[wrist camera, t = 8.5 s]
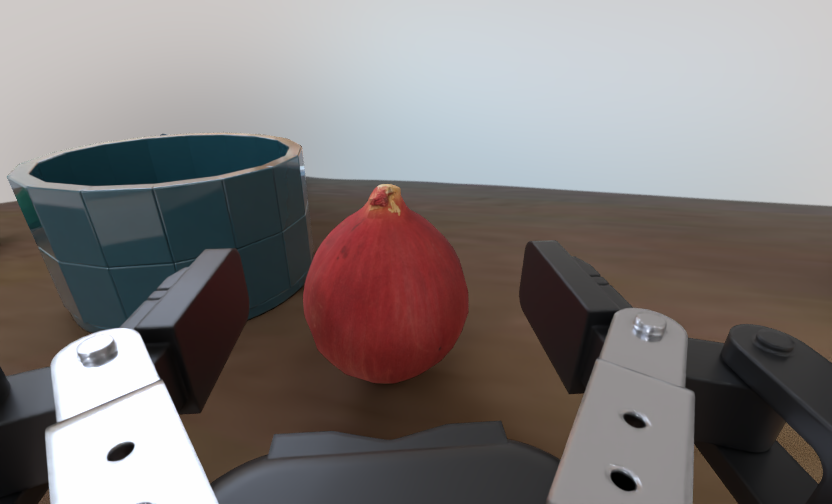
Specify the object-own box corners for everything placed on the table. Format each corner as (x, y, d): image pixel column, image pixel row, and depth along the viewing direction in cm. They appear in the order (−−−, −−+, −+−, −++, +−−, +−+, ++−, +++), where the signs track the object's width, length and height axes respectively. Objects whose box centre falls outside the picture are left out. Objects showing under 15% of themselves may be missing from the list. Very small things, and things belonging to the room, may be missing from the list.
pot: (280, 220, 31) (267, 127, 28) (346, 291, 22) (336, 163, 19) (81, 258, 25) (36, 145, 22) (55, 379, 16) (-30, 212, 13)
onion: (302, 351, 17) (276, 169, 14) (422, 319, 20) (425, 155, 16) (336, 462, 13) (310, 228, 9) (489, 404, 15) (515, 197, 11)
